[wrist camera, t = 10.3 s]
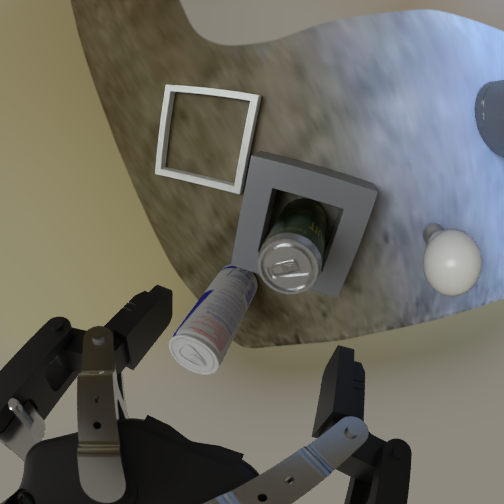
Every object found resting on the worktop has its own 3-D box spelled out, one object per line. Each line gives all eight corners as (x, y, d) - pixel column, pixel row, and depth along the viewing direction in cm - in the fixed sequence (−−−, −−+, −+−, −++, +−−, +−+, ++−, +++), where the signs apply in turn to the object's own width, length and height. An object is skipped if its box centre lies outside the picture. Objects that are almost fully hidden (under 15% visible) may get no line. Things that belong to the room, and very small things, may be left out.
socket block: (373, 183, 29) (378, 192, 26) (338, 280, 36) (337, 298, 32) (261, 151, 31) (251, 155, 28) (241, 250, 38) (230, 264, 34)
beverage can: (220, 258, 39) (164, 329, 26) (260, 267, 38) (219, 346, 25) (219, 292, 42) (170, 365, 29) (256, 301, 40) (218, 382, 28)
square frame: (261, 95, 28) (258, 95, 27) (242, 191, 34) (239, 194, 33) (171, 85, 30) (165, 84, 29) (159, 171, 36) (155, 173, 35)
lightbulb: (462, 227, 28) (502, 272, 18) (431, 265, 31) (457, 319, 21) (429, 195, 28) (466, 231, 18) (397, 237, 31) (418, 287, 21)
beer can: (291, 245, 35) (269, 301, 25) (275, 204, 34) (244, 247, 23) (333, 233, 33) (329, 289, 23) (318, 190, 31) (308, 229, 21)
